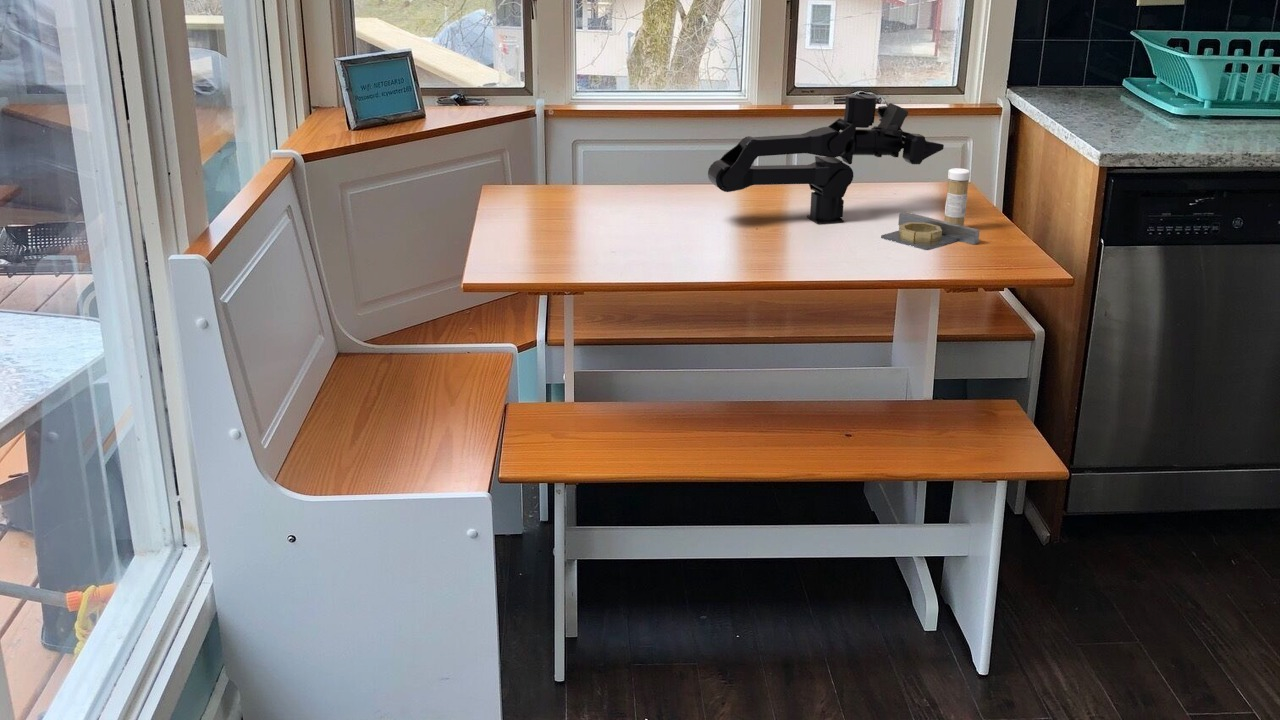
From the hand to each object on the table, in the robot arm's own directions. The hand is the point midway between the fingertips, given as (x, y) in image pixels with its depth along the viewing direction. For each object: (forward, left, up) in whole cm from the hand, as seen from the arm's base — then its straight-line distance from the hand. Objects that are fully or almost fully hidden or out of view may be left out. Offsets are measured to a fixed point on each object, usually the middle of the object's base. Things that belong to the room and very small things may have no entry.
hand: (933, 142), depth 274 cm
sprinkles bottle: (-1, -14, -17) cm, 22 cm away
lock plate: (-12, -19, -17) cm, 28 cm away
